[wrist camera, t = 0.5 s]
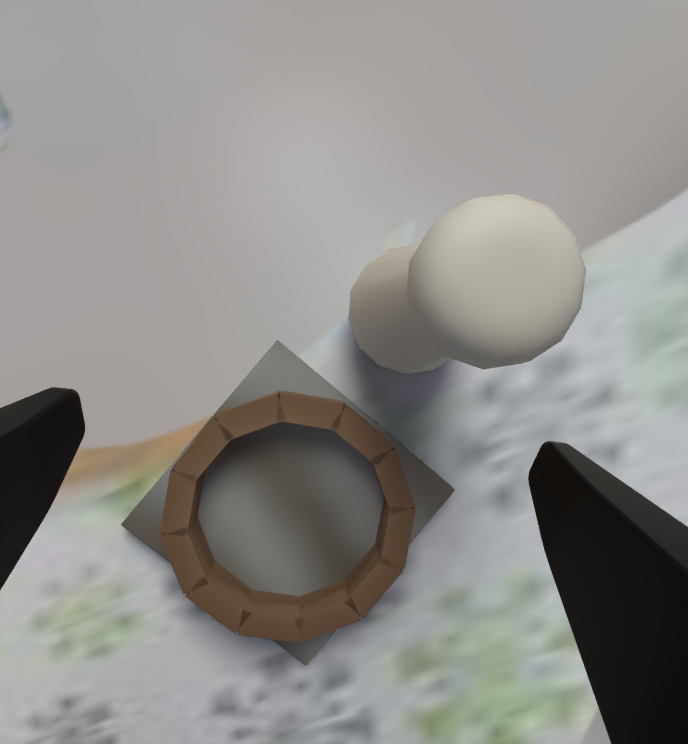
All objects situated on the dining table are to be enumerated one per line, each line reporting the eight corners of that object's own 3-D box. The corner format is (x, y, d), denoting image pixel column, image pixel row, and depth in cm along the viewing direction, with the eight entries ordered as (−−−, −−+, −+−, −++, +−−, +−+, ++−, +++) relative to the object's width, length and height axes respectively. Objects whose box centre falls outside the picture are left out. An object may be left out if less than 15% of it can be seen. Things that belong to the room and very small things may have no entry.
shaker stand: (306, 654, 24) (305, 692, 21) (127, 518, 23) (104, 540, 20) (450, 485, 24) (466, 502, 21) (278, 340, 23) (273, 340, 20)
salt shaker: (351, 376, 23) (402, 418, 10) (337, 264, 23) (370, 162, 10) (462, 361, 24) (644, 384, 11) (450, 251, 23) (623, 135, 10)
